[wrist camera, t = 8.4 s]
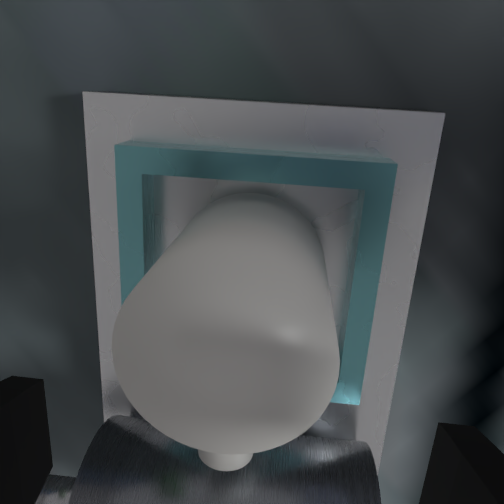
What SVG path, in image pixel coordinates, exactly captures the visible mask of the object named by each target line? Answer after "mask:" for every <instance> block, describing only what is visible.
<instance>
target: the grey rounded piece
mask: <svg viewBox="0 0 504 504" xmlns="http://www.w3.org/2000/svg"><path fill="white" fill-rule="evenodd" d="M112 358H113V364H114V368H115V372H116V375H117V378H118V381H119V383H120V386H121V388H122V389H123V391H124V393H125V395H126V397H127V398H128V400H129V401H130V402H131V404H132V405H133V407H134V408H135V409H136V410H137V411H138V412H139V414H140V415H141V416H142V417H143V418H144V419H145V420H146V421H147V422H149V423H150V424H151V425H152V426H153V427H154V428H156V429H157V430H159V431H160V432H162V433H163V434H165V435H166V436H168V437H170V438H172V439H174V440H175V441H177V442H180V443H182V444H184V445H187V446H189V447H192V448H195V449H198V454H199V457H200V459H201V460H202V462H203V463H204V464H206V465H207V466H209V467H210V468H213V469H215V470H219V471H234V470H237V469H240V468H242V467H244V466H245V465H247V464H248V463H249V462H250V460H251V459H252V456H253V453H258V452H262V451H266V450H270V449H273V448H276V447H278V446H281V445H284V444H286V443H288V442H289V441H291V440H293V439H295V438H297V437H298V436H299V435H301V434H302V433H304V432H305V431H307V430H308V429H309V428H310V427H311V426H312V425H313V424H314V423H315V422H316V421H317V420H318V419H319V417H320V416H321V415H322V414H323V413H324V411H325V409H326V408H327V406H328V404H329V403H330V401H331V399H332V396H333V394H334V392H335V389H336V385H337V381H338V377H339V368H340V356H339V346H338V340H337V333H336V327H335V321H334V315H333V308H332V302H331V296H330V289H329V283H328V277H327V270H326V264H325V258H324V253H323V248H322V244H321V242H320V239H319V236H318V235H317V233H316V231H315V229H314V227H313V226H312V225H311V223H310V222H309V220H308V219H307V218H306V217H305V216H304V215H303V214H302V213H301V212H299V211H298V210H297V209H296V208H294V207H293V206H291V205H290V204H288V203H286V202H285V201H282V200H280V199H278V198H276V197H272V196H269V195H265V194H259V193H239V194H233V195H229V196H225V197H223V198H220V199H218V200H216V201H214V202H212V203H210V204H208V205H207V206H206V207H204V208H203V209H202V210H201V211H200V212H199V213H197V214H196V215H195V216H194V218H193V219H192V220H191V221H190V222H189V224H188V225H187V226H186V227H185V228H184V229H183V231H182V232H181V233H180V234H179V235H178V237H177V238H176V239H175V240H174V241H173V242H172V244H171V245H170V246H169V247H168V248H167V250H166V251H165V252H164V253H163V254H162V255H161V257H160V258H159V259H158V260H157V261H156V263H155V264H154V265H153V266H152V267H151V269H150V270H149V271H148V272H147V273H146V274H145V276H144V277H143V278H142V279H141V280H140V282H139V283H138V284H137V285H136V286H135V287H134V289H133V290H132V291H131V293H130V294H129V295H128V297H127V298H126V299H125V301H124V303H123V305H122V306H121V308H120V310H119V313H118V315H117V318H116V321H115V324H114V329H113V334H112Z"/></svg>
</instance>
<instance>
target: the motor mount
mask: <svg viewBox="0 0 504 504" xmlns="http://www.w3.org/2000/svg"><path fill="white" fill-rule="evenodd" d="M82 93H83V108H84V123H85V139H86V154H87V169H88V184H89V200H90V215H91V230H92V246H93V261H94V276H95V292H96V307H97V322H98V337H99V353H100V368H101V383H102V399H103V414H104V424H103V425H102V426H101V427H100V429H99V430H98V432H97V433H96V435H95V437H94V438H93V440H92V442H91V444H90V446H89V448H88V450H87V452H86V455H85V457H84V459H83V462H82V464H81V467H80V469H79V472H78V475H77V477H69V476H60V475H51V474H50V475H48V477H47V479H46V482H45V484H44V486H43V488H42V490H41V492H40V494H39V497H38V499H37V501H36V502H35V504H381V497H380V489H379V482H378V470H379V465H380V460H381V454H382V449H383V444H384V438H385V433H386V428H387V422H388V417H389V412H390V406H391V401H392V396H393V390H394V385H395V380H396V374H397V369H398V364H399V358H400V353H401V348H402V342H403V337H404V332H405V326H406V321H407V316H408V310H409V305H410V300H411V294H412V289H413V284H414V278H415V273H416V268H417V262H418V257H419V252H420V246H421V241H422V236H423V230H424V225H425V220H426V214H427V209H428V204H429V198H430V193H431V188H432V182H433V177H434V172H435V166H436V161H437V156H438V150H439V145H440V140H441V134H442V129H443V124H444V118H445V113H441V112H434V111H423V110H406V109H389V108H373V107H356V106H339V105H323V104H306V103H289V102H272V101H256V100H239V99H222V98H205V97H189V96H172V95H155V94H138V93H122V92H105V91H82ZM239 193H259V194H265V195H269V196H272V197H276V198H278V199H280V200H282V201H285V202H286V203H288V204H290V205H291V206H293V207H294V208H296V209H297V210H298V211H299V212H301V213H302V214H303V215H304V216H305V217H306V218H307V219H308V220H309V222H310V223H311V225H312V226H313V227H314V229H315V231H316V233H317V235H318V236H319V239H320V242H321V244H322V248H323V253H324V258H325V264H326V270H327V277H328V283H329V289H330V296H331V302H332V308H333V315H334V321H335V327H336V333H337V340H338V346H339V356H340V368H339V377H338V381H337V385H336V389H335V392H334V394H333V396H332V399H331V401H330V403H329V404H328V406H327V408H326V409H325V411H324V413H323V414H322V415H321V416H320V417H319V419H318V420H317V421H316V422H315V423H314V424H313V425H312V426H311V427H310V428H309V429H308V430H307V431H305V432H304V433H302V434H301V435H299V436H298V437H297V438H295V439H293V440H291V441H289V442H288V443H286V444H284V445H281V446H278V447H276V448H273V449H270V450H266V451H262V452H258V453H253V456H252V459H251V460H250V462H249V463H248V464H247V465H245V466H244V467H242V468H240V469H237V470H234V471H219V470H215V469H213V468H210V467H209V466H207V465H206V464H204V463H203V462H202V460H201V459H200V457H199V454H198V449H195V448H192V447H189V446H187V445H184V444H182V443H180V442H177V441H175V440H174V439H172V438H170V437H168V436H166V435H165V434H163V433H162V432H160V431H159V430H157V429H156V428H154V427H153V426H152V425H151V424H150V423H149V422H147V421H146V420H145V419H144V418H143V417H142V416H141V415H140V414H139V412H138V411H137V410H136V409H135V408H134V407H133V405H132V404H131V402H130V401H129V400H128V398H127V397H126V395H125V393H124V391H123V389H122V388H121V386H120V383H119V381H118V378H117V375H116V372H115V368H114V364H113V358H112V334H113V329H114V324H115V321H116V318H117V315H118V313H119V310H120V308H121V306H122V305H123V303H124V301H125V299H126V298H127V297H128V295H129V294H130V293H131V291H132V290H133V289H134V287H135V286H136V285H137V284H138V283H139V282H140V280H141V279H142V278H143V277H144V276H145V274H146V273H147V272H148V271H149V270H150V269H151V267H152V266H153V265H154V264H155V263H156V261H157V260H158V259H159V258H160V257H161V255H162V254H163V253H164V252H165V251H166V250H167V248H168V247H169V246H170V245H171V244H172V242H173V241H174V240H175V239H176V238H177V237H178V235H179V234H180V233H181V232H182V231H183V229H184V228H185V227H186V226H187V225H188V224H189V222H190V221H191V220H192V219H193V218H194V216H195V215H196V214H197V213H199V212H200V211H201V210H202V209H203V208H204V207H206V206H207V205H208V204H210V203H212V202H214V201H216V200H218V199H220V198H223V197H225V196H229V195H233V194H239Z"/></svg>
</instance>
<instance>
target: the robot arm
mask: <svg viewBox="0 0 504 504" xmlns="http://www.w3.org/2000/svg"><path fill="white" fill-rule="evenodd" d="M52 467H53V463H52V454H51V445H50V436H49V427H48V418H47V409H46V400H45V391H44V381H43V379H35V378H26V377H17V376H11V377H9V378H7V379H4V380H2V381H0V504H35V502H36V501H37V499H38V497H39V494H40V492H41V490H42V488H43V486H44V484H45V482H46V479H47V477H48V475H49V473H50V471H51V469H52ZM419 504H504V454H503V453H502V452H501V451H500V450H499V449H498V448H497V447H496V446H495V445H494V444H493V443H492V442H491V441H490V440H489V439H487V438H486V437H485V436H484V435H483V434H482V433H481V432H480V431H479V430H478V429H477V428H476V427H474V426H466V425H457V424H448V423H438V427H437V431H436V435H435V439H434V444H433V448H432V452H431V456H430V460H429V464H428V469H427V473H426V477H425V481H424V485H423V489H422V494H421V498H420V502H419Z"/></svg>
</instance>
